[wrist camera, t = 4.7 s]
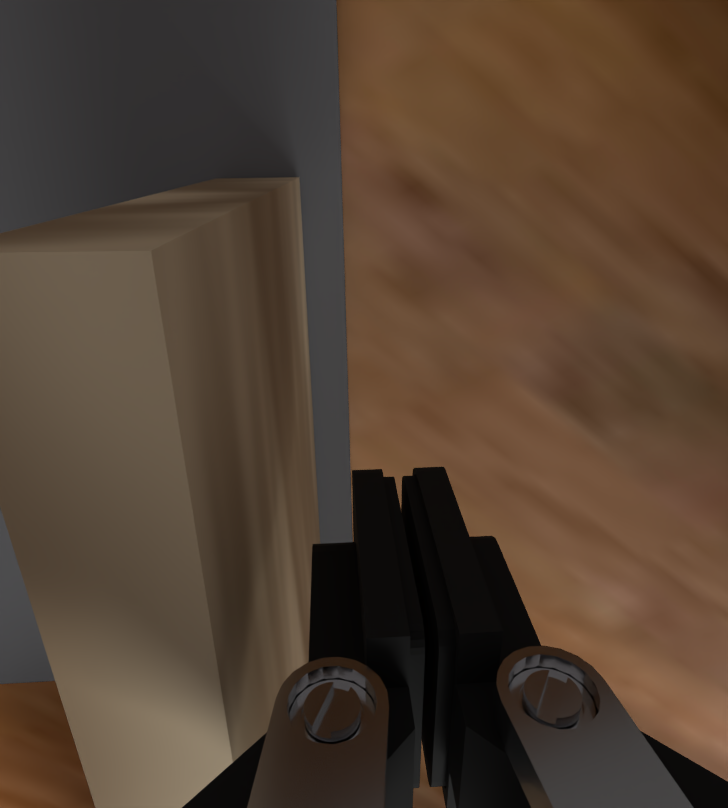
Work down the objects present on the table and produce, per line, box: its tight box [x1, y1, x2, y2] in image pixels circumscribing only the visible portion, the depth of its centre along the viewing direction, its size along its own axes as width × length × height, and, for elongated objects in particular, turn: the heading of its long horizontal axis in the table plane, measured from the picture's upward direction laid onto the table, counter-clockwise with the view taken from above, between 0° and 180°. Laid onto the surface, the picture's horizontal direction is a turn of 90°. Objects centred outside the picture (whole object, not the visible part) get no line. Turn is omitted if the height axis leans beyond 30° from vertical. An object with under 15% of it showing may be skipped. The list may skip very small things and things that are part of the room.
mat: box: [0, 0, 353, 684], centre depth 17 cm, size 18×20×1 cm
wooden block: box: [0, 177, 320, 808], centre depth 12 cm, size 2×12×10 cm, turn 1°
